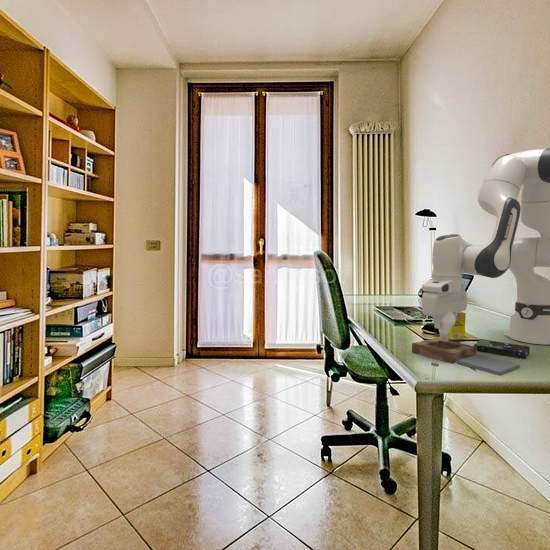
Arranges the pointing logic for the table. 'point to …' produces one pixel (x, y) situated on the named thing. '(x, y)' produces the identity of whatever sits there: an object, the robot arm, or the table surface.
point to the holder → (443, 350)
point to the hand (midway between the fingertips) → (444, 326)
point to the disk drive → (502, 348)
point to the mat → (488, 364)
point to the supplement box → (458, 328)
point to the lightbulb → (446, 325)
